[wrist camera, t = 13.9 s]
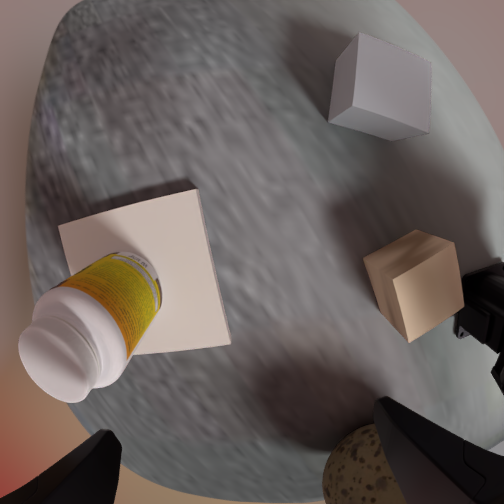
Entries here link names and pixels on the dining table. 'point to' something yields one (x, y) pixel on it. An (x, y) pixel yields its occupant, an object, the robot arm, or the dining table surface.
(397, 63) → the pale grey block
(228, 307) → the dining table surface
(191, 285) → the cream square tile
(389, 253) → the birch block
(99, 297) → the supplement bottle
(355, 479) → the decorative egg
